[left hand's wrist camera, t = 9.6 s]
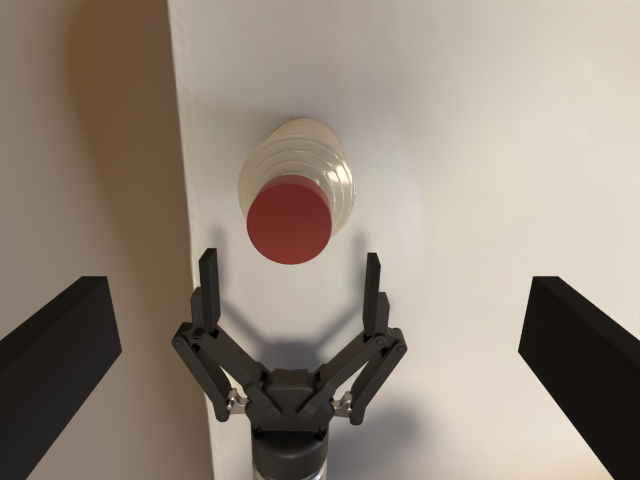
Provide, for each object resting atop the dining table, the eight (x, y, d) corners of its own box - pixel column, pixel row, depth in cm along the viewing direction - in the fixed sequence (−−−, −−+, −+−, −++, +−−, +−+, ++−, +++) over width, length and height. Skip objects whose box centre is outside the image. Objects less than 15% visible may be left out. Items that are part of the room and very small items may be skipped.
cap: (257, 250, 22) (251, 266, 20) (249, 176, 20) (241, 185, 18) (332, 246, 21) (333, 263, 20) (329, 172, 20) (330, 181, 18)
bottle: (269, 199, 38) (225, 293, 21) (261, 120, 36) (203, 150, 18) (345, 195, 38) (366, 286, 20) (342, 115, 35) (364, 142, 18)
